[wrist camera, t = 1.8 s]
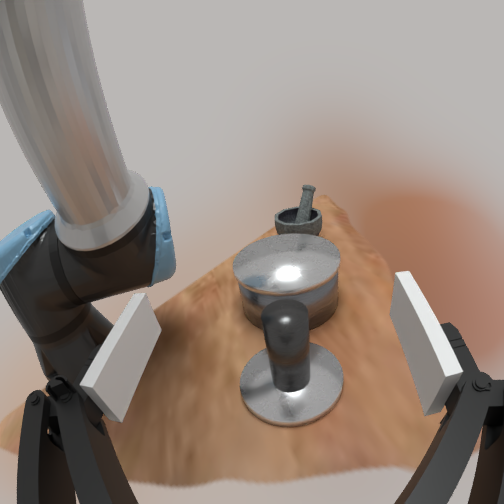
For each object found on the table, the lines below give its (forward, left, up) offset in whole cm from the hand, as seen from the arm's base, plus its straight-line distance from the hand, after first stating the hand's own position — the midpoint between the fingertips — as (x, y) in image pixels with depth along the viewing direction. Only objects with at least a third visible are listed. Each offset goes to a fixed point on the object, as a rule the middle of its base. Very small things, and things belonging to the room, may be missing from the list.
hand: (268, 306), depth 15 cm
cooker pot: (-19, +17, -20) cm, 33 cm away
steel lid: (-7, +6, -20) cm, 22 cm away
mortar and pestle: (-31, +32, -20) cm, 49 cm away
